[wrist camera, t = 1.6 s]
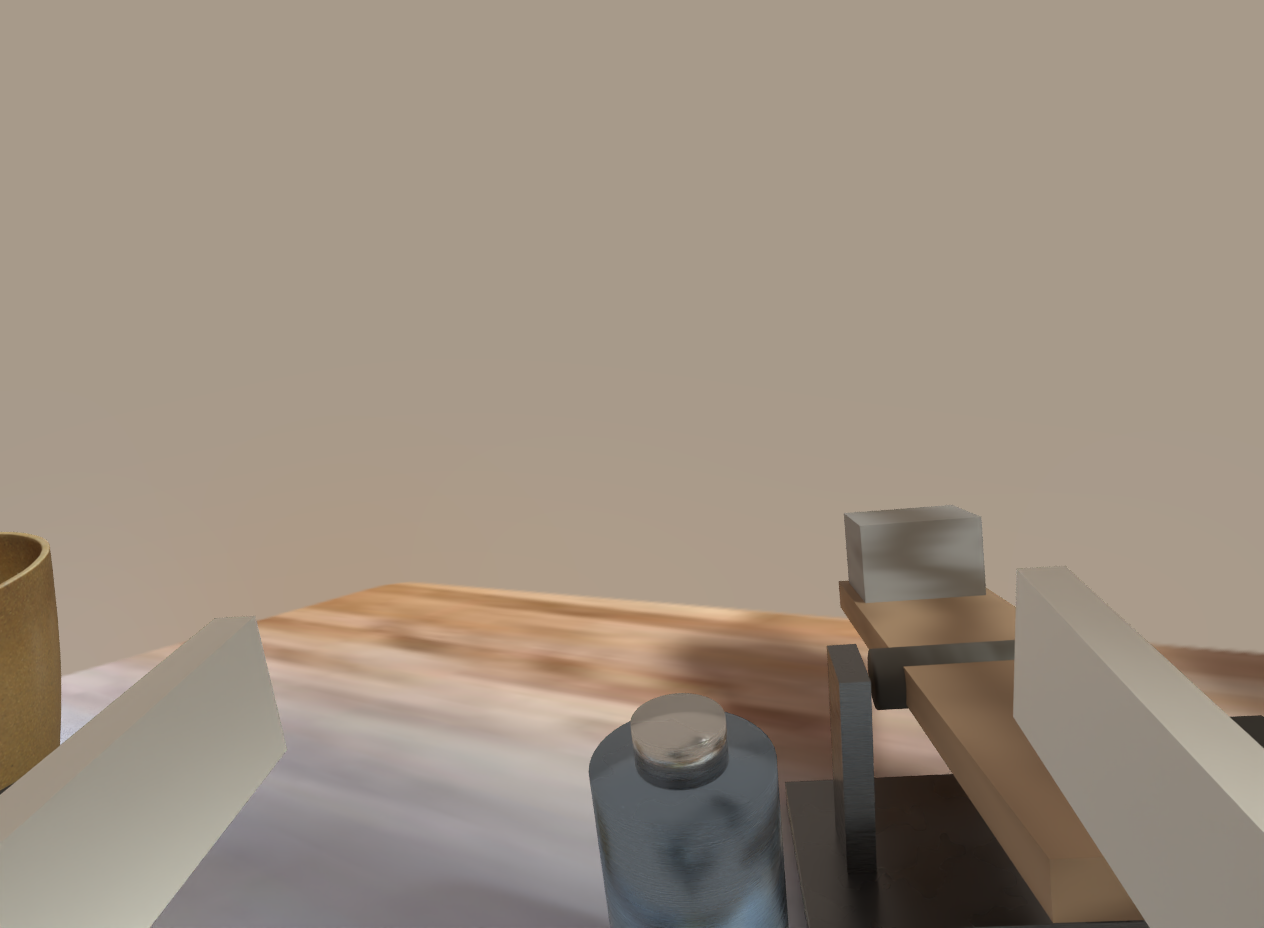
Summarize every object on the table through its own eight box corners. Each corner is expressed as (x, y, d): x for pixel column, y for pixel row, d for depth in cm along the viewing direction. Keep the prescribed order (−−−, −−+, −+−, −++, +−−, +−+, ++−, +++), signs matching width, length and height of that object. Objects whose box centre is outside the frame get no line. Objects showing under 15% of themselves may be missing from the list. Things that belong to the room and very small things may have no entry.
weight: (786, 954, 33) (765, 665, 29) (806, 1111, 27) (783, 774, 24) (631, 959, 33) (593, 675, 30) (619, 1114, 27) (571, 784, 24)
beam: (983, 605, 48) (976, 501, 48) (1434, 930, 18) (1426, 663, 18) (823, 615, 49) (816, 514, 49) (1008, 943, 19) (992, 688, 19)
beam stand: (1129, 783, 40) (1142, 592, 37) (1252, 940, 31) (1279, 705, 28) (786, 799, 41) (774, 616, 39) (811, 953, 33) (799, 731, 30)
